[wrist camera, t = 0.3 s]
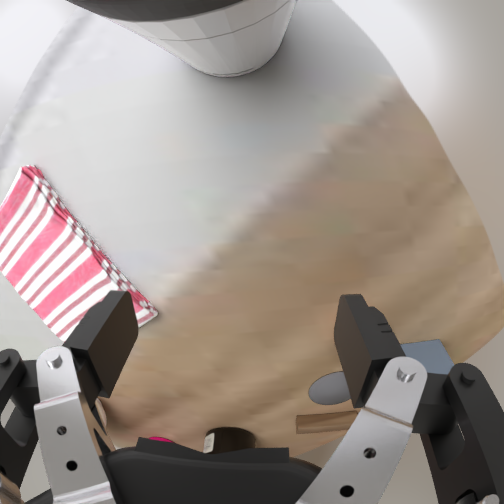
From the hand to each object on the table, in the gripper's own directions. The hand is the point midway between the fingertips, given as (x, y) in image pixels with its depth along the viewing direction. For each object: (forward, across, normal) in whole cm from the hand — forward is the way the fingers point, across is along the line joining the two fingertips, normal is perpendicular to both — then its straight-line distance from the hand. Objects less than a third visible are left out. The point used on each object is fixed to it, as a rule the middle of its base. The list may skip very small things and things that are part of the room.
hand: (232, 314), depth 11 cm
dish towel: (+19, +24, +8) cm, 31 cm away
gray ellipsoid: (+19, -13, +27) cm, 35 cm away
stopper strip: (+19, -13, +35) cm, 42 cm away
